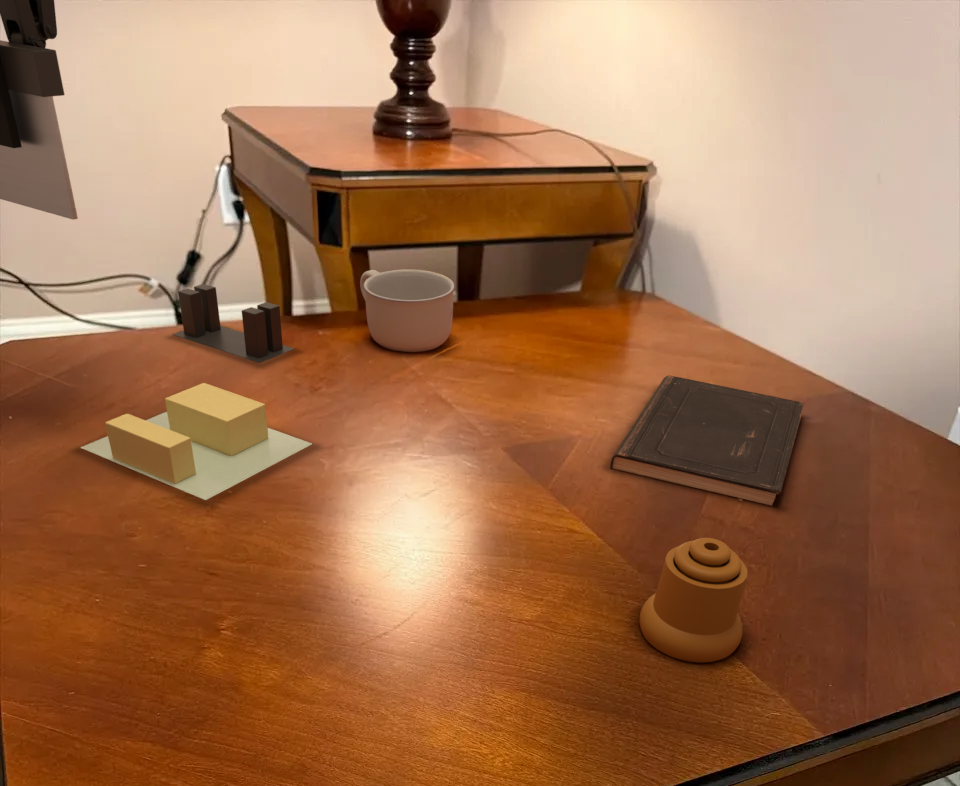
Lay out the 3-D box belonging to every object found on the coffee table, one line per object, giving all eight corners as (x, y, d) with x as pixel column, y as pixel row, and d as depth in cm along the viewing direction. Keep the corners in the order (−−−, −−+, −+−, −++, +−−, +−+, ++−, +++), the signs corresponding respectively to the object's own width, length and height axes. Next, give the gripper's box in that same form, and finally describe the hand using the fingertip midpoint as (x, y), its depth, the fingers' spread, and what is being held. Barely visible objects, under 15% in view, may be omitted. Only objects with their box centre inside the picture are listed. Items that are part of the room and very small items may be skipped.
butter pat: (112, 458, 79) (104, 422, 77) (134, 448, 81) (127, 412, 78) (175, 484, 76) (168, 447, 74) (196, 473, 78) (190, 437, 75)
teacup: (468, 355, 107) (472, 288, 102) (392, 369, 102) (392, 300, 97) (410, 321, 116) (411, 258, 111) (337, 332, 111) (335, 267, 106)
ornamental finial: (705, 684, 60) (617, 636, 64) (755, 638, 65) (670, 596, 69) (733, 590, 56) (636, 544, 59) (785, 548, 60) (692, 508, 64)
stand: (173, 342, 105) (165, 291, 101) (210, 329, 109) (203, 280, 105) (260, 371, 99) (255, 318, 96) (295, 356, 104) (291, 305, 100)
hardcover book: (798, 421, 98) (804, 402, 96) (774, 513, 81) (781, 491, 79) (660, 392, 102) (663, 373, 100) (608, 474, 85) (612, 452, 83)
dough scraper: (-14, 198, 77) (-57, 34, 69) (6, 195, 78) (-34, 34, 71) (69, 222, 73) (33, 50, 65) (89, 218, 74) (56, 49, 67)
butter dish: (81, 457, 81) (79, 447, 80) (194, 409, 90) (193, 400, 90) (207, 510, 75) (205, 499, 74) (313, 452, 84) (312, 443, 84)
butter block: (170, 432, 84) (164, 398, 81) (208, 416, 87) (203, 382, 85) (231, 456, 81) (227, 421, 78) (268, 438, 84) (265, 403, 82)
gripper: (-155, -285, 51) (-35, 161, 66) (63, -236, 62) (125, 140, 76) (-224, -282, 54) (-94, 146, 69) (-5, -235, 64) (68, 128, 79)
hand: (21, 142), depth 72 cm, fingers closed on dough scraper, 2 cm apart
